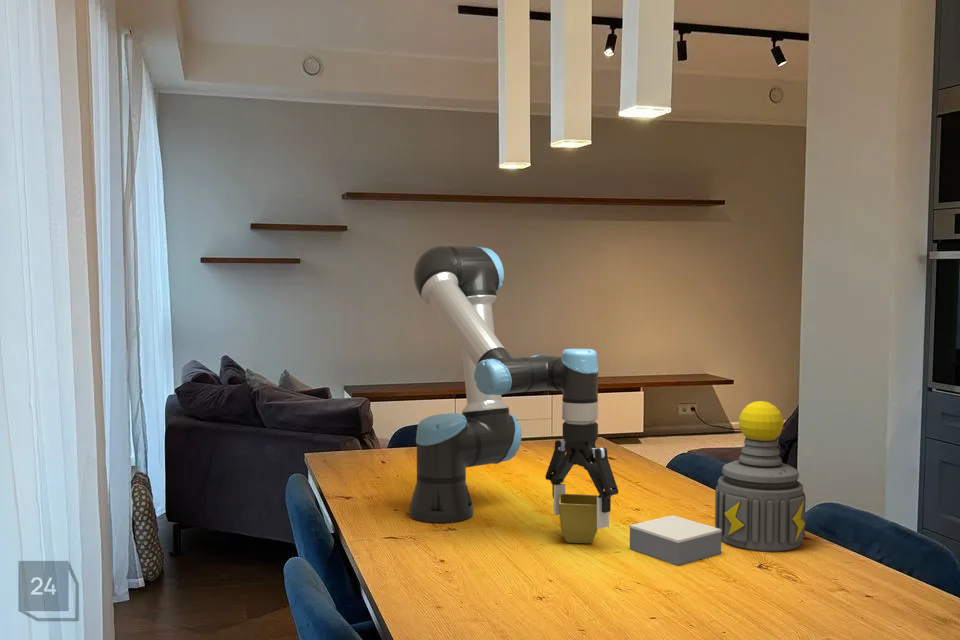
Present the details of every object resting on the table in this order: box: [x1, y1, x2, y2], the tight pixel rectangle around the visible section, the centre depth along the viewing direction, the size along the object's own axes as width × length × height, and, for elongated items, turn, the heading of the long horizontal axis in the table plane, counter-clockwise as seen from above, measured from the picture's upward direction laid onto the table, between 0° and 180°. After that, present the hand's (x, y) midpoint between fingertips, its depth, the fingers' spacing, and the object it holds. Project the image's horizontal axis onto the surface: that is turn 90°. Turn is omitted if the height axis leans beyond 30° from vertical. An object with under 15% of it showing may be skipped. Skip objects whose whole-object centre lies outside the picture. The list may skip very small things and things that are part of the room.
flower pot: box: [559, 493, 599, 545], centre depth 185 cm, size 9×9×9 cm
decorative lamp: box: [714, 400, 807, 553], centre depth 185 cm, size 19×19×30 cm
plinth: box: [629, 515, 722, 566], centre depth 177 cm, size 13×13×5 cm
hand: (580, 520), depth 184 cm, fingers open, 13 cm apart
